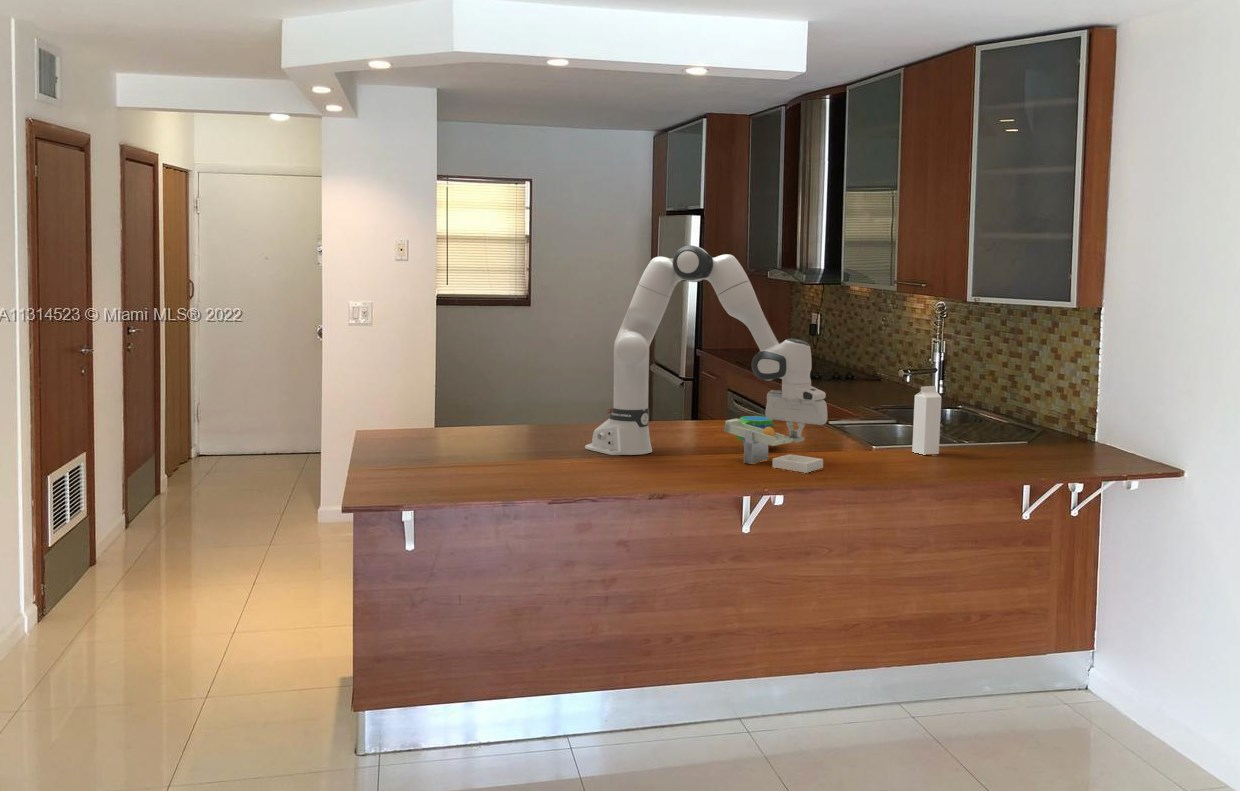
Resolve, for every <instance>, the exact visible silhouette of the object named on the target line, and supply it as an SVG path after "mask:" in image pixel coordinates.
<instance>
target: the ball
mask: <svg viewBox="0 0 1240 791" xmlns="http://www.w3.org/2000/svg"><path fill="white" fill-rule="evenodd" d="M763 434H766V435H769V436H773V437H774V435H775V428H774V429H773V428H772V427H766V428H765V429H764V430H763Z"/></svg>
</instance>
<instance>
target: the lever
mask: <svg viewBox="0 0 1240 791" xmlns="http://www.w3.org/2000/svg"><path fill="white" fill-rule="evenodd" d="M741 421H742V420H740V418H731V419H727V420H725V422H724V428H723V432H724V433H728V434H731V435H735V436H737V435H738V436H741V437H744V438H745V432H752V433H754V440H755V441H758V442H761V443H765V444H768V446H771V447H775V446H780V445H784V444H785V445H786V444H787V445H788V444H789V443H801V442H804V441H805V437H804V436H801V437H795V436H790V435H789V434H788V435H785V434H782V433H779V432H775V435H774V437H773V436H769V435H766V434H763V430H764V429H762V428H758V427H754V426H751V425H747V424H744V423H741Z"/></svg>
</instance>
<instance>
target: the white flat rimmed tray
mask: <svg viewBox="0 0 1240 791" xmlns="http://www.w3.org/2000/svg"><path fill="white" fill-rule="evenodd" d="M773 467H774V468H782V469H787V470H793V471H799V472H804V473H803V474H805V473H807V474H809V473H808V472H811V471H814V470H817V469H820V468H823V469H824V458H820V457H819V458H818V457H813V456H804V455H796V454H792V453H791V454H790V453H789V454H785V455H781V456H778V457H777V456H776V457H775V458H774V457H773V458H772V468H773ZM814 472H815V471H814ZM811 473H812V472H811Z"/></svg>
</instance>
